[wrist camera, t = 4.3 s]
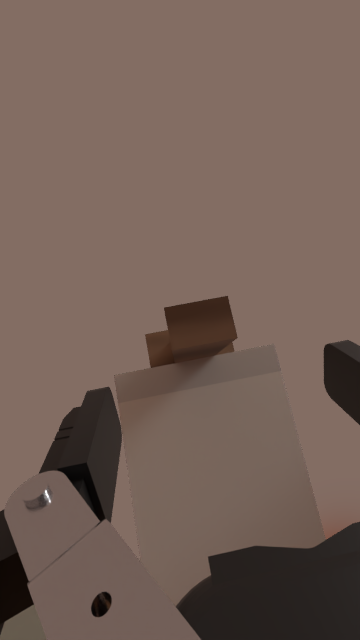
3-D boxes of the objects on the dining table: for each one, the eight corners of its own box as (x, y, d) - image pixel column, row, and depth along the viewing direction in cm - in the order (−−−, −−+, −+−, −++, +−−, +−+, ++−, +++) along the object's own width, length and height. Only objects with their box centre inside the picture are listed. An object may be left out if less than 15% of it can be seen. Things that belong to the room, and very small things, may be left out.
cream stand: (435, 956, 15) (273, 344, 21) (206, 1023, 14) (114, 375, 21) (327, 714, 25) (242, 357, 32) (194, 748, 25) (136, 378, 32)
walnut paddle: (280, 329, 13) (264, 268, 14) (127, 359, 13) (117, 295, 13) (222, 360, 31) (216, 333, 31) (157, 373, 30) (152, 345, 31)
